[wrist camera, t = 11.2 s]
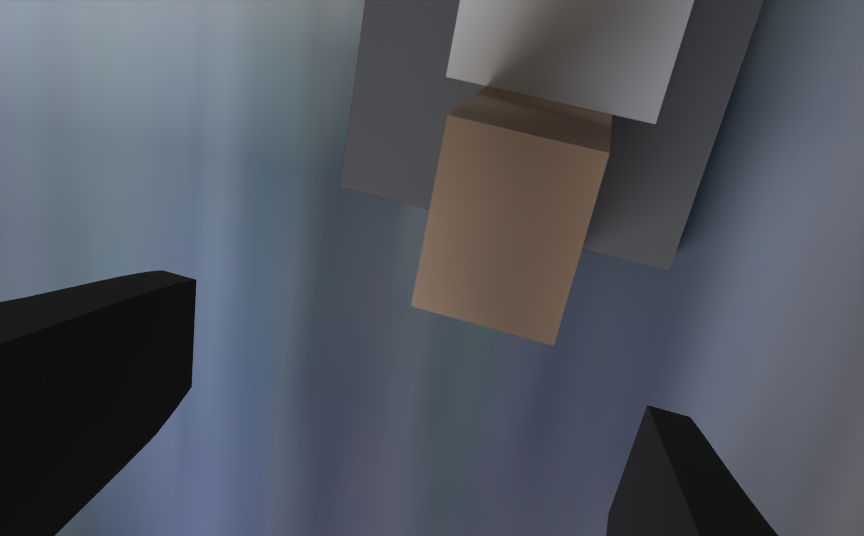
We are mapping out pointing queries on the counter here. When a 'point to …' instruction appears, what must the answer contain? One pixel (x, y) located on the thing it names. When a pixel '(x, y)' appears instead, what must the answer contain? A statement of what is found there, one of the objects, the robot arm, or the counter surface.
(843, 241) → the counter surface
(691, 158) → the pad
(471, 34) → the two-tone stacked blocks
